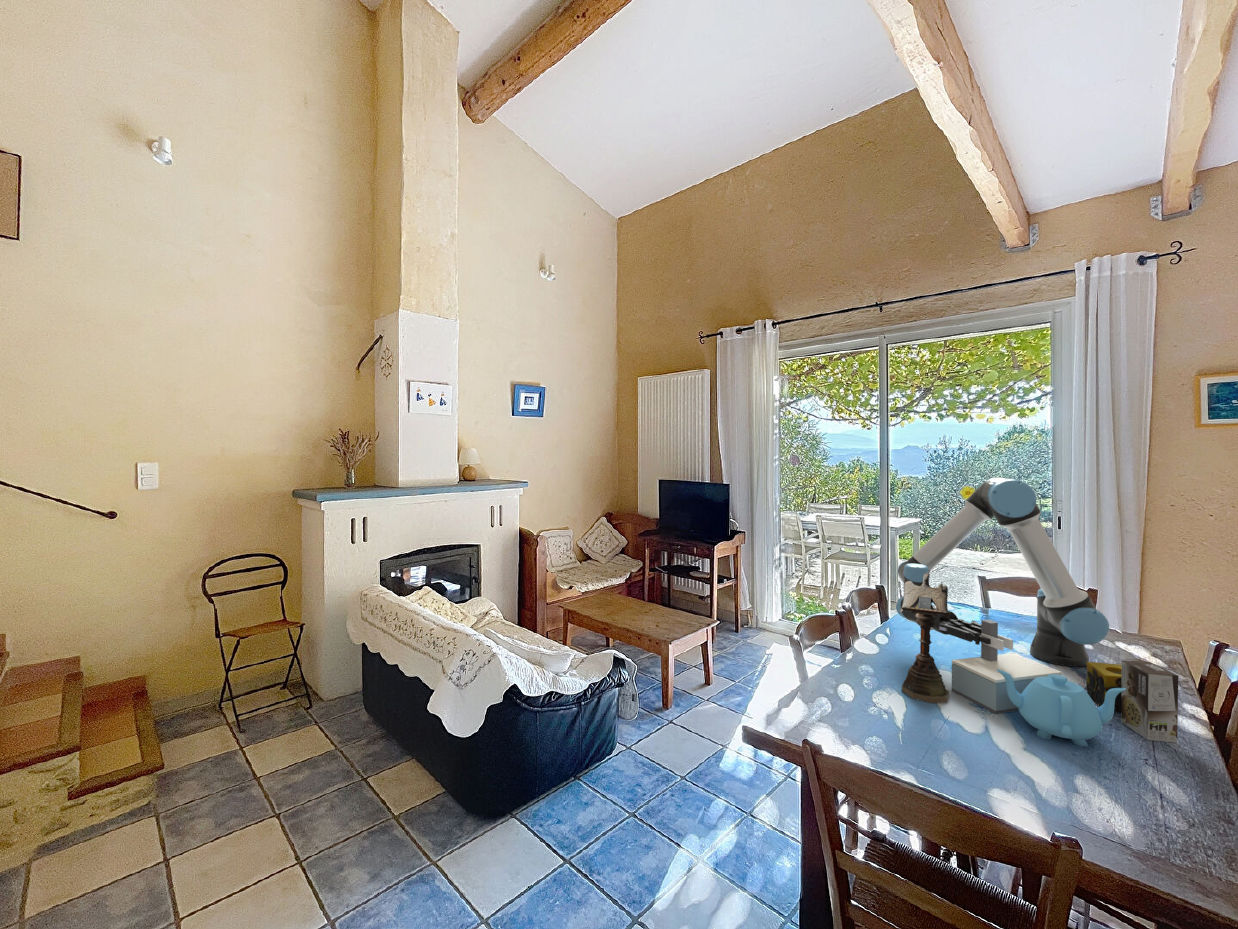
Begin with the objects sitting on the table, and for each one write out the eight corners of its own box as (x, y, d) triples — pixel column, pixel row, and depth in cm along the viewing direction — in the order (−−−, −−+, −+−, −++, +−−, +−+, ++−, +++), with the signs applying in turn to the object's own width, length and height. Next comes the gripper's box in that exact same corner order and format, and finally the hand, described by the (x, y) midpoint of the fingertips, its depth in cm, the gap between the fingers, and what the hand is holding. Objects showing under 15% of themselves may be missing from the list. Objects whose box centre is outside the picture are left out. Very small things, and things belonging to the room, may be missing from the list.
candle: (1130, 700, 147) (1130, 665, 147) (1153, 718, 137) (1153, 679, 137) (1084, 695, 150) (1085, 660, 150) (1104, 712, 141) (1104, 674, 141)
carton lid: (1013, 655, 158) (1013, 616, 158) (1061, 675, 144) (1062, 632, 144) (951, 662, 153) (952, 622, 153) (996, 683, 140) (996, 638, 139)
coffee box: (1179, 743, 125) (1180, 676, 125) (1147, 740, 127) (1148, 673, 126) (1149, 724, 134) (1150, 661, 134) (1119, 721, 136) (1120, 659, 135)
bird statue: (953, 716, 139) (954, 583, 138) (897, 702, 146) (898, 576, 145) (956, 692, 152) (958, 571, 151) (905, 681, 160) (906, 565, 159)
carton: (1012, 683, 158) (1013, 656, 158) (1061, 704, 145) (1061, 675, 144) (951, 690, 153) (951, 663, 153) (995, 714, 140) (996, 683, 140)
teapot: (1126, 747, 124) (1127, 687, 124) (1056, 755, 121) (1057, 694, 120) (1057, 713, 140) (1058, 660, 140) (994, 720, 137) (994, 666, 136)
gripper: (959, 629, 173) (1029, 656, 150) (918, 633, 169) (984, 661, 147) (959, 606, 173) (1029, 629, 150) (918, 609, 169) (984, 634, 146)
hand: (1007, 645), depth 148 cm, fingers closed on carton lid, 2 cm apart
